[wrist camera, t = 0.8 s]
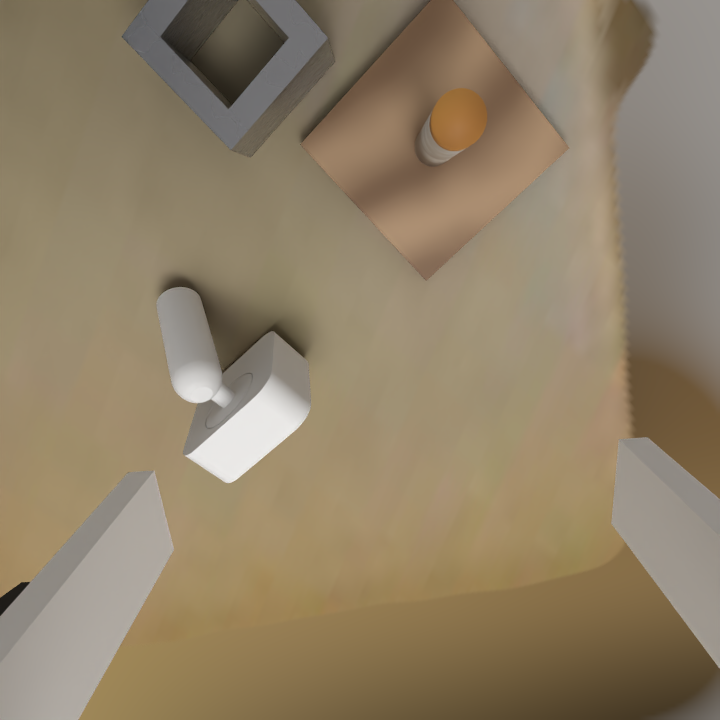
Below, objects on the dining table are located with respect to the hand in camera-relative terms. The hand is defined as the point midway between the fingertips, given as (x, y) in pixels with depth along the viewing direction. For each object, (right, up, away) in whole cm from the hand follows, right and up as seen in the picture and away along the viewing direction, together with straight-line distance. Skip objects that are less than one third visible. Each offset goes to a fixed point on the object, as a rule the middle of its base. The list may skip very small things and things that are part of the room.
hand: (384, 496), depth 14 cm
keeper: (+4, +18, +18) cm, 26 cm away
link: (-8, +23, +17) cm, 29 cm away
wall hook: (-10, +5, +23) cm, 26 cm away
